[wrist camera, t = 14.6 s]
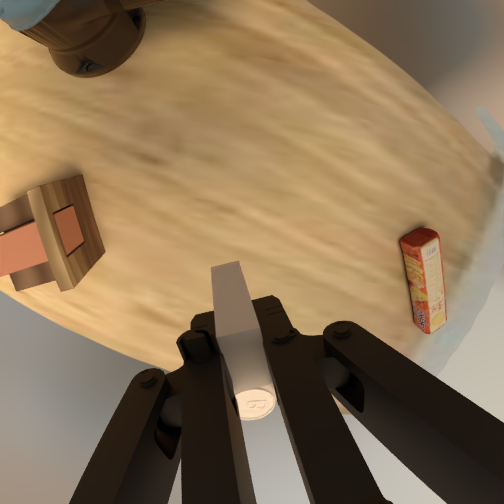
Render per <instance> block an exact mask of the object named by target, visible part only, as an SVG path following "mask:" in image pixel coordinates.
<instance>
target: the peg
mask: <svg viewBox="0 0 504 504" xmlns="http://www.w3.org/2000/svg"><path fill="white" fill-rule="evenodd" d="M52 214H53V217H54V220H55V223H56V227H57V230H58V233H59V236H60V239H61V242H62V245H63V248H64V251H65V253H66V255H68V254H69V253H70V252H71V251H72V250H74V249H75V248H76V247H77V246H78V245H80V244H81V243H82V242H83V241H84V239H83V235H82V232H81V229H80V226H79V223H78V220H77V216H76V213H75V210H74V206H70V207H68V208H65V209H62V210H59V211H57V212H54V213H52ZM47 261H48V258H47V255H46V253H45V250H44V247H43V244H42V241H41V238H40V235H39V232H38V229H37V226H36V222H35V220H34V221H31V222H29V223H26V224H24V225H21V226H19V227H17V228H14V229H12V230H10V231H7V232H5V233H3V234H1V235H0V277H2V276H4V275H7V274H10V273H13V272H16V271H19V270H22V269H25V268H28V267H31V266H34V265H37V264H40V263H44V262H47Z"/></svg>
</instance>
